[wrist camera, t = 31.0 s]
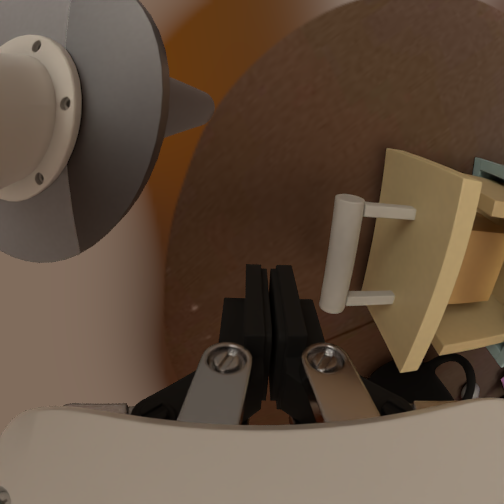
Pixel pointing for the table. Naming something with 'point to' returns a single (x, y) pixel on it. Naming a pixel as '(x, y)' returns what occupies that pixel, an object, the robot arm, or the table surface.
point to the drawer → (416, 259)
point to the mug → (422, 380)
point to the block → (480, 262)
